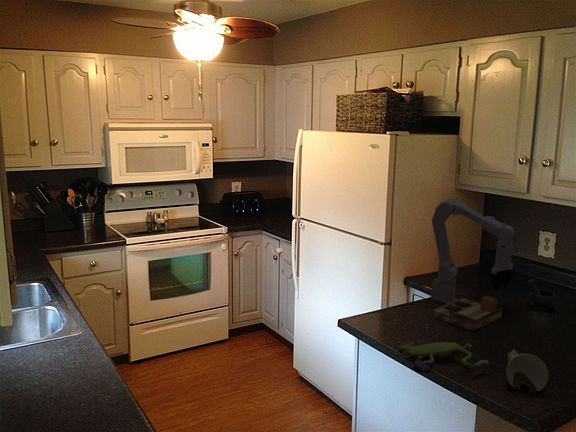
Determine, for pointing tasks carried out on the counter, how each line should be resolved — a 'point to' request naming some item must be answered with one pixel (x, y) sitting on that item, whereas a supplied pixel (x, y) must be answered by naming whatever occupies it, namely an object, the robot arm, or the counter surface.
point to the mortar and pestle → (540, 297)
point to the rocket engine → (527, 368)
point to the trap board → (466, 314)
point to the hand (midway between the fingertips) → (500, 287)
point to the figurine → (438, 349)
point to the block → (488, 303)
